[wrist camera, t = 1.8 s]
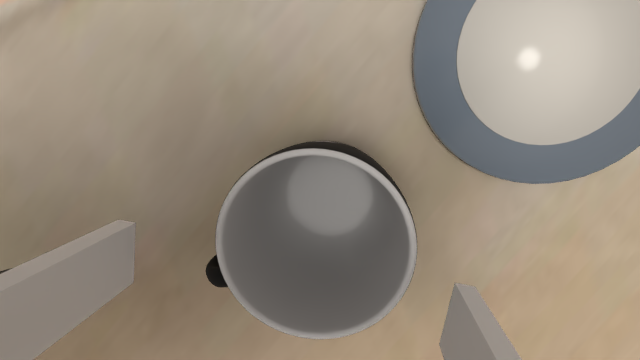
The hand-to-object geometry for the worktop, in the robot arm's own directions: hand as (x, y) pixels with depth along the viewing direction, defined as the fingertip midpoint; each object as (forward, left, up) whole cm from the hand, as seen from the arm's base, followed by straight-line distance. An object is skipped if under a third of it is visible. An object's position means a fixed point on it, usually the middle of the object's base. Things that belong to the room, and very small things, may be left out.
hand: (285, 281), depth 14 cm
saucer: (+13, +12, -12) cm, 21 cm away
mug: (0, 0, -12) cm, 12 cm away
